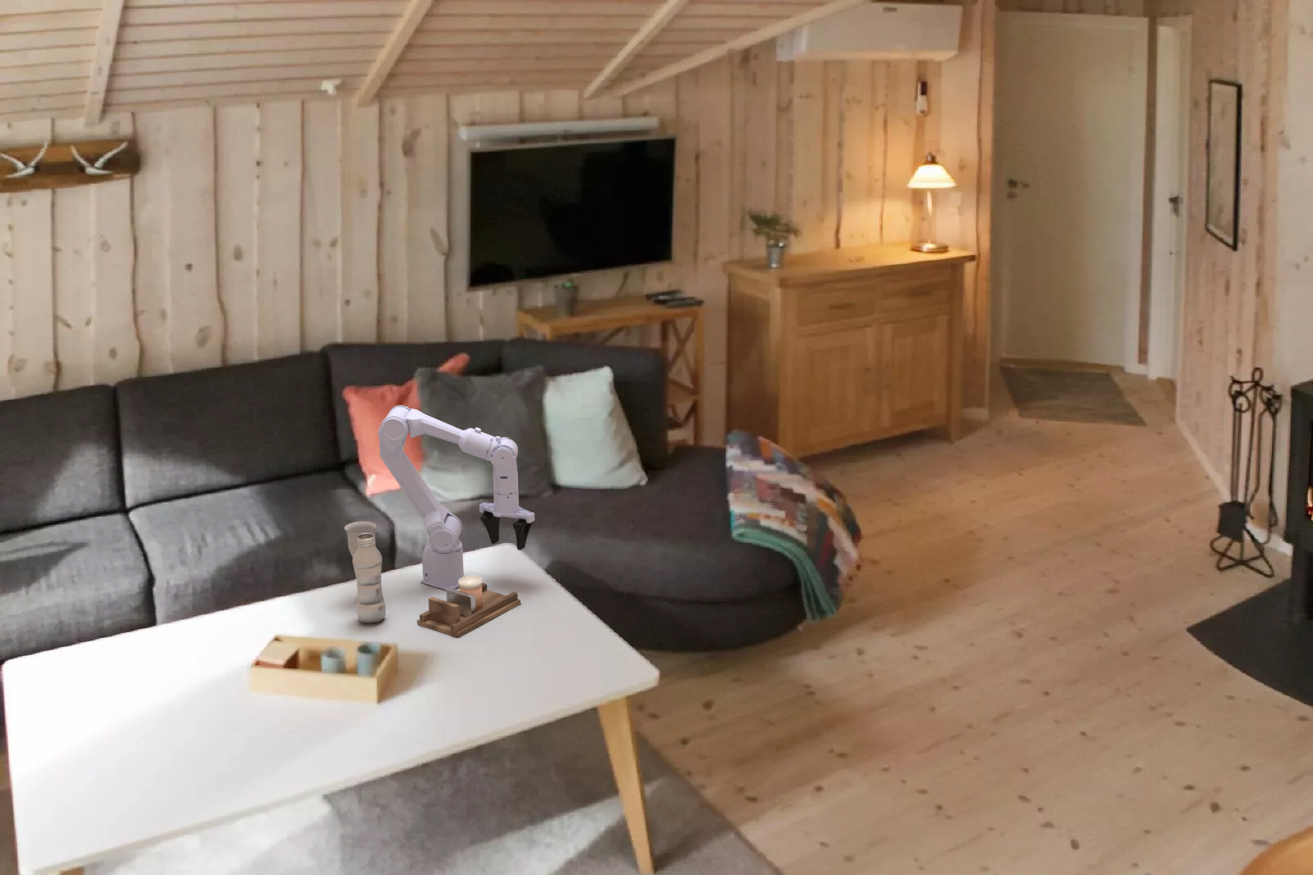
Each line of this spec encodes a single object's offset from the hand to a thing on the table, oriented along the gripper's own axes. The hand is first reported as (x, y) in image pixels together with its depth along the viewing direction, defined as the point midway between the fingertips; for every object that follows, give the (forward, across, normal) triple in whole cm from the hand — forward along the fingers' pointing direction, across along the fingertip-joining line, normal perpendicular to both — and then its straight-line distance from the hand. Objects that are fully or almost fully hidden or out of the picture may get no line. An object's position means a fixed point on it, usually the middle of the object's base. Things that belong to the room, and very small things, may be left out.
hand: (508, 545), depth 310 cm
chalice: (+10, -23, -25) cm, 35 cm away
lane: (+9, +3, -19) cm, 21 cm away
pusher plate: (+8, +3, -21) cm, 23 cm away
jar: (+8, +3, -18) cm, 20 cm away
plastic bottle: (+10, -14, -32) cm, 36 cm away
